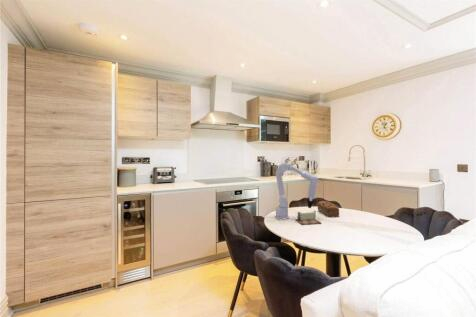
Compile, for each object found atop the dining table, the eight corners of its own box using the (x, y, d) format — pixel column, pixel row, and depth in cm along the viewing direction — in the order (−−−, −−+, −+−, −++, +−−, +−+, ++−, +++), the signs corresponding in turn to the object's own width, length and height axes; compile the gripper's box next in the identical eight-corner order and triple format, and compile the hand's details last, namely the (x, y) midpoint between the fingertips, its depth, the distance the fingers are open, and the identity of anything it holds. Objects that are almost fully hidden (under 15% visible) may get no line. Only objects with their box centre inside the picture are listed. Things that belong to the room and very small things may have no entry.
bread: (317, 211, 201) (317, 200, 200) (328, 211, 201) (328, 200, 201) (327, 217, 182) (327, 205, 182) (339, 217, 183) (339, 204, 182)
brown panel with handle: (301, 225, 164) (301, 215, 163) (295, 220, 175) (295, 211, 175) (321, 223, 166) (321, 214, 166) (313, 219, 178) (313, 210, 178)
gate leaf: (301, 219, 171) (301, 213, 171) (300, 219, 173) (300, 212, 173) (315, 218, 173) (315, 212, 173) (314, 218, 174) (314, 211, 174)
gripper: (317, 194, 174) (314, 210, 177) (317, 188, 187) (314, 203, 190) (307, 192, 176) (305, 208, 179) (308, 186, 189) (306, 201, 192)
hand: (309, 205), depth 185 cm, fingers open, 7 cm apart
